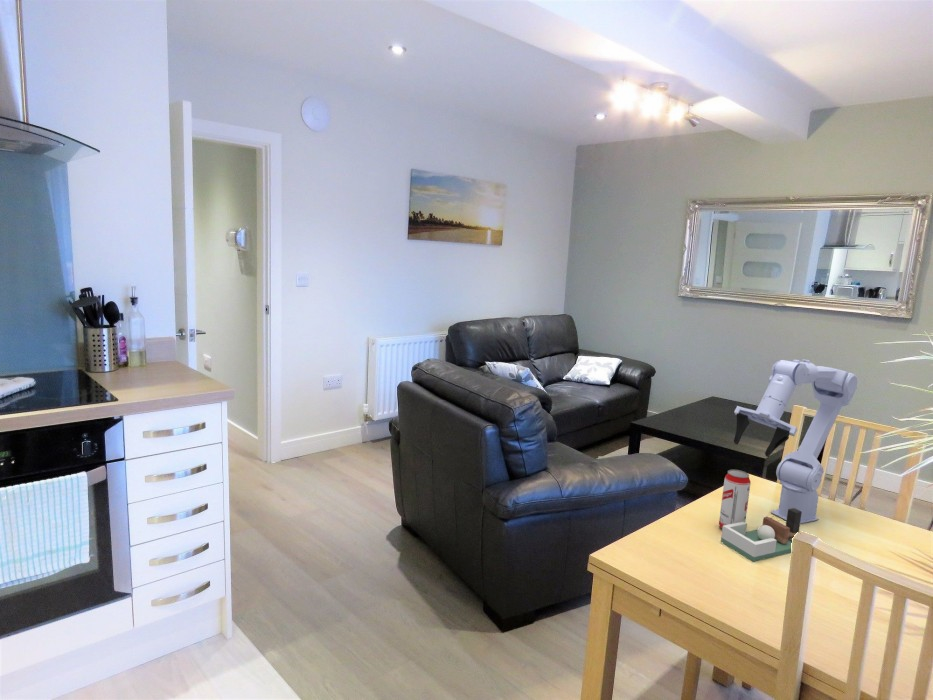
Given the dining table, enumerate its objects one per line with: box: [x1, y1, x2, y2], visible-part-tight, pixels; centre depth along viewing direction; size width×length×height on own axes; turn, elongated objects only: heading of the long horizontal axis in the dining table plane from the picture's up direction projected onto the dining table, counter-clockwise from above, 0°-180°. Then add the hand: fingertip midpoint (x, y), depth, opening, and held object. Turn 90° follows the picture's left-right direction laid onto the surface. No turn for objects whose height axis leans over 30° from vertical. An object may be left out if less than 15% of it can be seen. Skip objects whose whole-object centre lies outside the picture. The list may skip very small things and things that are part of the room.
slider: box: [761, 508, 802, 544], centre depth 147 cm, size 8×6×6 cm
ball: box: [757, 524, 775, 540], centre depth 145 cm, size 4×4×4 cm
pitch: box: [720, 522, 792, 562], centre depth 146 cm, size 21×10×4 cm, turn 113°
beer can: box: [718, 469, 752, 529], centre depth 152 cm, size 6×6×16 cm
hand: (750, 449), depth 144 cm, fingers open, 7 cm apart
